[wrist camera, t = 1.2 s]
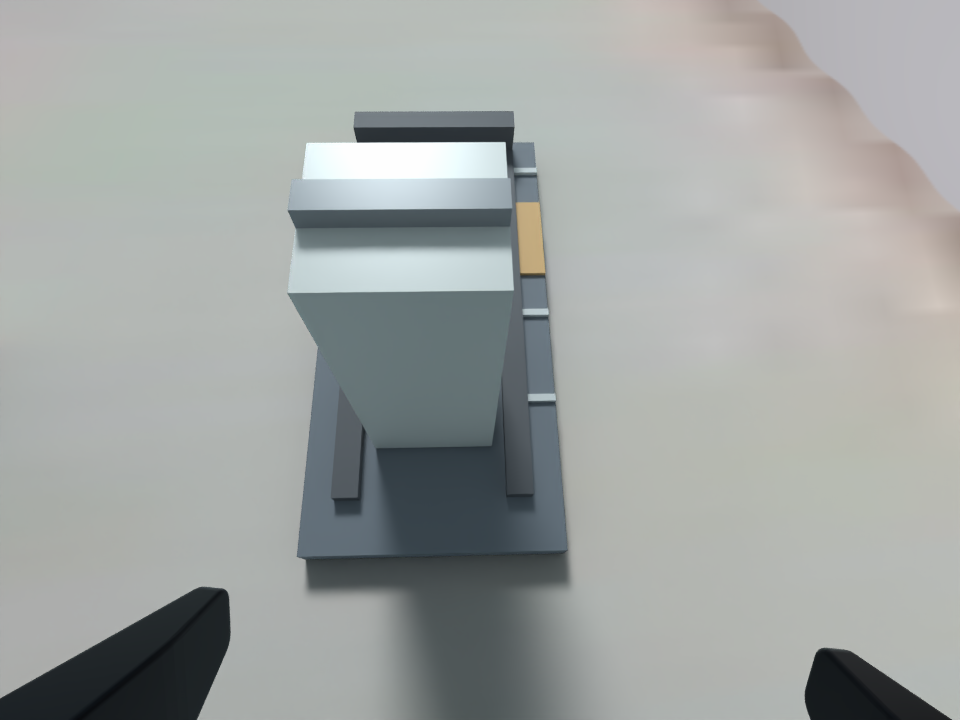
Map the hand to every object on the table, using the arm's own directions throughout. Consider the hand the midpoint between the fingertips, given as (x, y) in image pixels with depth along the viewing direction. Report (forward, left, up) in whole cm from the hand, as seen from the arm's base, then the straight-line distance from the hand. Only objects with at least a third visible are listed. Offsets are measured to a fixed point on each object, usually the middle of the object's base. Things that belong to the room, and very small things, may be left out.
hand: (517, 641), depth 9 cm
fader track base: (+4, +12, -14) cm, 19 cm away
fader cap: (+2, +8, -12) cm, 15 cm away
